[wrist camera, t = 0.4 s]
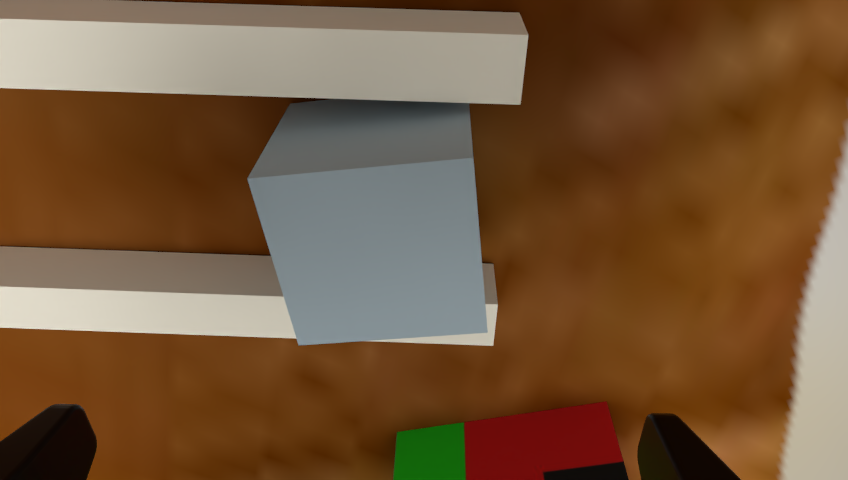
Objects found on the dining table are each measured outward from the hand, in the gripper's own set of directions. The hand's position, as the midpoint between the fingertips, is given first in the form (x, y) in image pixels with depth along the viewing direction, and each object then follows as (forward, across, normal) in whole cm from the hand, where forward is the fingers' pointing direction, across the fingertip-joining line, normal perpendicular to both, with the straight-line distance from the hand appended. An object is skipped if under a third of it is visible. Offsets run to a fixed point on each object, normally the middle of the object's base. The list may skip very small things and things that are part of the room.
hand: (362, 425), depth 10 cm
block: (+13, +1, +2) cm, 14 cm away
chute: (+13, +7, +2) cm, 15 cm away
